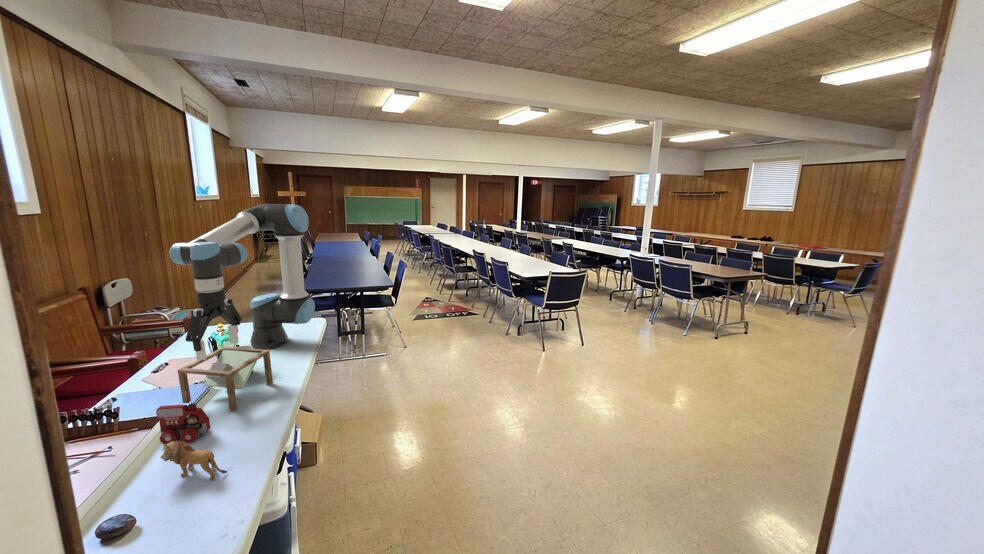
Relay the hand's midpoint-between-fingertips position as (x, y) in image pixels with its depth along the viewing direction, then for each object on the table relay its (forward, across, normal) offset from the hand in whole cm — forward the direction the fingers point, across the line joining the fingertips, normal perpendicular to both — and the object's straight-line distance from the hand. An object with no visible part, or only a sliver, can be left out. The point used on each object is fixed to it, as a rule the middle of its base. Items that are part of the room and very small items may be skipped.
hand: (218, 350), depth 127 cm
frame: (+18, +2, 0) cm, 18 cm away
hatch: (+9, +5, 0) cm, 10 cm away
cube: (+11, +2, 0) cm, 11 cm away
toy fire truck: (+18, -20, -5) cm, 28 cm away
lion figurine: (+18, -34, -20) cm, 43 cm away
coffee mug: (+18, +18, +7) cm, 27 cm away
